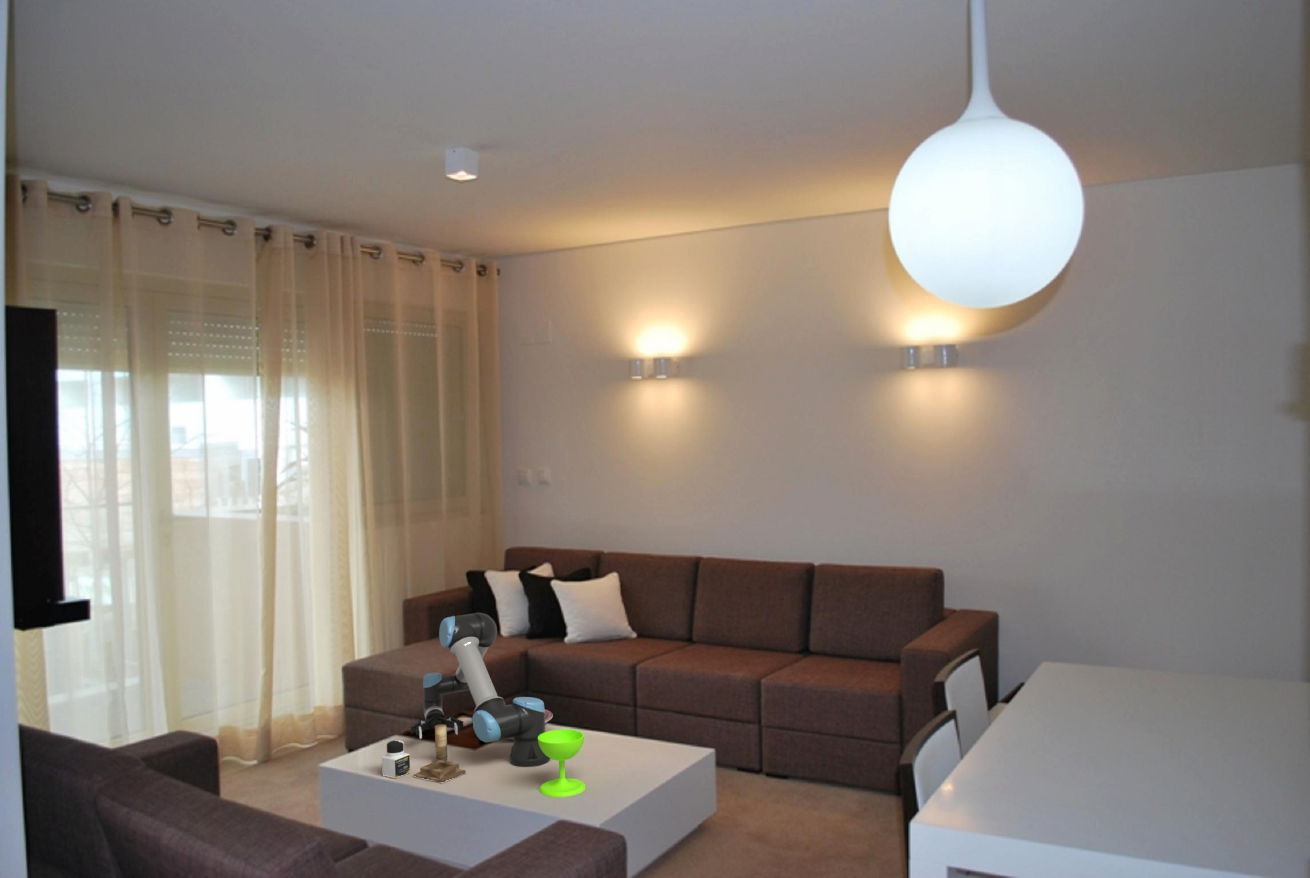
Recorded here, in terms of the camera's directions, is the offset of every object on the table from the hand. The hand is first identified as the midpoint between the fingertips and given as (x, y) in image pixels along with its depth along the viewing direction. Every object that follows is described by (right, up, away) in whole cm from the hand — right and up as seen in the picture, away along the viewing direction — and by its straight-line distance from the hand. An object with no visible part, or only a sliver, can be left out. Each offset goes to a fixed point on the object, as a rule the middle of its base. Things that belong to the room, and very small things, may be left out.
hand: (438, 733), depth 371 cm
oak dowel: (+3, -9, -9) cm, 13 cm away
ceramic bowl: (+27, -8, +22) cm, 36 cm away
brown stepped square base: (+6, -8, -23) cm, 25 cm away
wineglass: (+51, -7, -40) cm, 65 cm away
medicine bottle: (-11, -9, -21) cm, 25 cm away
